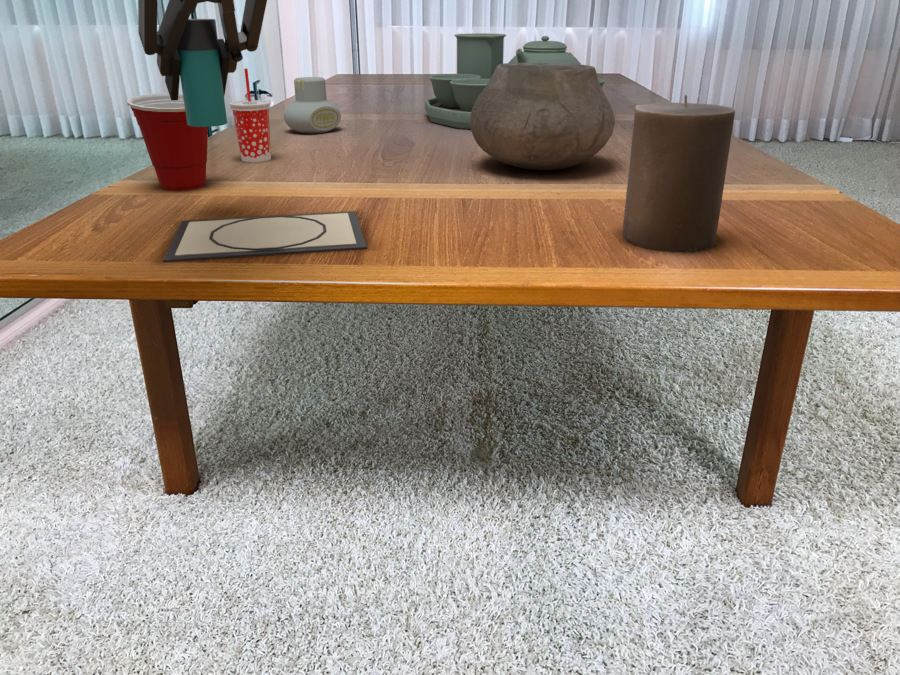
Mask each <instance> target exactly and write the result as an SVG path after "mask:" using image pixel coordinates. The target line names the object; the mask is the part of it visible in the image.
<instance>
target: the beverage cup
mask: <svg viewBox="0 0 900 675" xmlns="http://www.w3.org/2000/svg"><path fill="white" fill-rule="evenodd" d="M244 79H245V88H246V95H247V96H246V98H247V100H238V101H232V102H229V107H230V108H229V109H230V110H231V111H232V116H233V122H234V127H235V132H236V138H237V143H238V148H239V154H240V160H241V161H242V162H245V163H261V162H267V161H270V160H271V159H272V152H271V151H272V150H271V149H272V148H271V130H270V128H271V127H270V108H271V106H270V105H271V102H270V100H269V101H268V100H259V99H252V96H251V88H250V78H249V70H248V68H244Z"/></svg>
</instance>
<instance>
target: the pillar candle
mask: <svg viewBox="0 0 900 675" xmlns="http://www.w3.org/2000/svg"><path fill="white" fill-rule="evenodd" d="M735 114H736V110H735V109H734V108H732V107H730V106H725V105H719V104H710V103H702V102H701V103H697V102H688V95H687V94H684V102H662V103H661V102H659V103H646V104H645V103H644V104H638V105H635V108H634V118H633V126H632V136H631V146H630V157H629V168H628V173H627V174H628V177H627V186H626V193H625V205H624V212H623V225H622V238H623V240H625V241H626V242H627V243H629V244H631V245H633V246H636V247H639V248H642V249H644V250H645V249H646V250H651V251H658V252H667V253H682V254H683V253H698V252H701V251H704V250H708V249H712V248H713V247H714V246H715V245H716V241H717V234H718V233H717V232H718V227H719V221H720V216H721V209H722V203H723V202H722V201H723V194H724V188H725V182H726V175H727V169H728V168H727V167H728V161H729V155H730V148H731V141H732V135H733V129H734V121H735V117H736V116H735Z"/></svg>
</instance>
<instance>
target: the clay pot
mask: <svg viewBox="0 0 900 675" xmlns="http://www.w3.org/2000/svg"><path fill="white" fill-rule="evenodd" d="M598 79H599V77H598V73H597V70H596V67H595V66H593V65H588V64H581V65H580V64H561V63H509V62H505V63H504V62H503V64H499V65H498V66H497V67H496V69H495V71H494V73H493V75H492V76H491V78H490V80H489V82H488V84H487V85H486V87H485V88H484V89H483V91H482V92H481V94H480V95H479V96H478V98H477V100H476V102H475V103H474V106H473V109H472V111H471V115H470V122H469V123H470V128H471V129H470V132H471V133H472V137H473V138H474V140H475V143H476V145H477V146H478V147H479V148H480V149H481V150H482V151H483V152H485V153H486V155H488V156H489V157H491V158H493V159H494V160H496V161H498V162H500V163H504V164H506V165H508V166H512V167H515V168H519V169H523V170H529V171H530V170H531V171H545V172H546V171H556V170H557V171H558V170H564V169H567V168H568V169H569V168H571V167H575V166H576V165H579V164H582V163H584V162H585V161H588V160H589V159H591V158H593V157H594V156H595V155H596V154H598V153H599V152H600V151H602V149H603V148H604V147H605V146H606V145H607V143H608V142H609V140H610V138H611V137H612V135H613V133H614V129H615V124H616V118H615V113H614V111H613V107H612V105H611V102H610V101H609V99H608V97H607V96H606V94H605V92H604V90H603V89H601V86H600V83H599V81H598Z"/></svg>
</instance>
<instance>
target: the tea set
mask: <svg viewBox="0 0 900 675" xmlns="http://www.w3.org/2000/svg"><path fill="white" fill-rule="evenodd" d="M506 36H507V34H505V33H479V32H478V33H475V32H473V33H456V34H454V37H455V38H456V73H442V74H433V75H429V76H428V79H429V80H430V82H431V87H432V91H433V94H434V96H435V97H431V98H428V99H425V100H424V110H425V112H426V115H427V117H428V119H429V121H430V122H431V123H434V124H438V125H441V126H446V127H450V128H455V129H460V130H461V129H462V130H471V128H470V123H469V122H470V115H471V111H472V109H473V106H474V103H475V102H476V100H477V98H478V96H479V95H480V94H481V92H482V91H483V89H484V88H485V87H486V85H487V84H488V82H489V80H490V78H491V76H492V75H493V73H494V71H495V69H496V67H497V66H498V65H499V64H504V42H505V37H506ZM567 48H568V46H567V45H566V43H564V42H562V41H557V40H550V36H548V35H543V36H541V37H540V40H531V41H528V42H526V43H524V45H523V46H522V48H517V50H516V51H515V55H514V56H513V57H512V58H511V59H510V60H509V61H508V63H561V64H580V65H582V64H581V62H580V61H579V60H578V58H577V57H576V56H574V54H572V52H567ZM598 81H599V83H600V86H601V89H602V88H603V86H604V84H605V82H606V81H605V79H604V78H598ZM602 90H603V89H602Z"/></svg>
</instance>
